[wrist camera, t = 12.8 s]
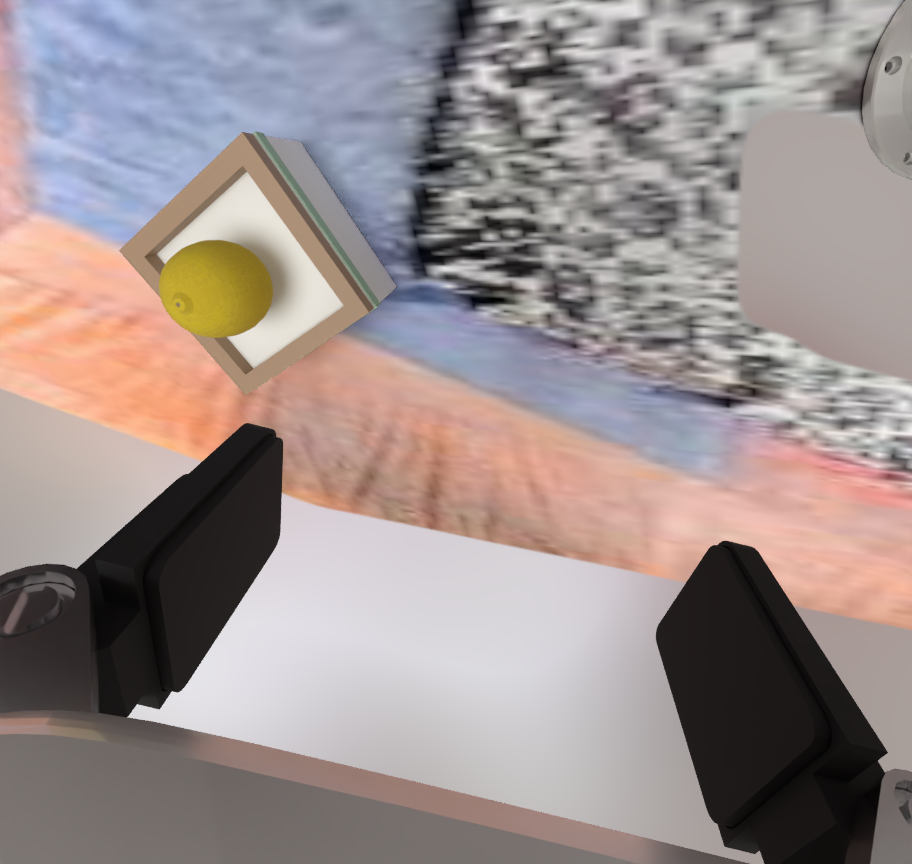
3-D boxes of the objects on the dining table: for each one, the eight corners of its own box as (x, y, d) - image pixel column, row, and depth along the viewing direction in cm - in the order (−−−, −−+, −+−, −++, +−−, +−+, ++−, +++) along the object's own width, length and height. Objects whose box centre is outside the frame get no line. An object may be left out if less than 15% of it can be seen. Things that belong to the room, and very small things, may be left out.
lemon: (265, 220, 30) (187, 233, 23) (307, 302, 32) (247, 337, 25) (198, 251, 31) (106, 271, 24) (242, 327, 34) (169, 367, 27)
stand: (398, 287, 38) (371, 312, 31) (291, 359, 42) (245, 396, 35) (300, 139, 34) (242, 129, 26) (192, 236, 38) (116, 250, 31)
